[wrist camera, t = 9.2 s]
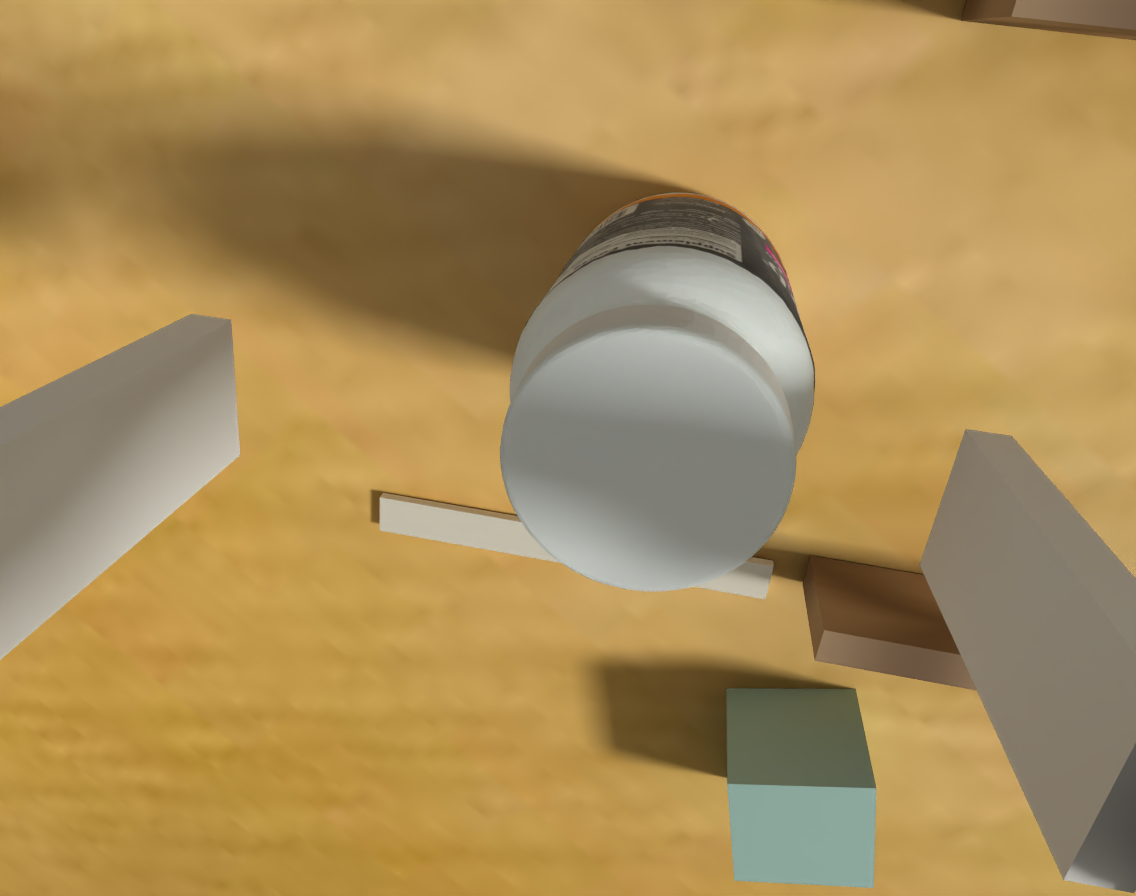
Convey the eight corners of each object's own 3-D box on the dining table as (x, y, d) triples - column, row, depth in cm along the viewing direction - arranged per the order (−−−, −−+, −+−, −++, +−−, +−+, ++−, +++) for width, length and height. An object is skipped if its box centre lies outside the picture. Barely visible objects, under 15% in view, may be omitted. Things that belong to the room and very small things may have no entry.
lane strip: (383, 525, 26) (379, 530, 26) (383, 492, 26) (379, 497, 26) (764, 593, 25) (765, 599, 25) (773, 560, 25) (773, 566, 24)
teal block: (732, 777, 29) (734, 880, 25) (726, 686, 27) (727, 783, 24) (853, 780, 28) (873, 887, 25) (855, 687, 26) (876, 788, 23)
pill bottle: (790, 392, 22) (838, 619, 14) (581, 406, 24) (500, 625, 15) (783, 172, 20) (835, 275, 11) (551, 200, 21) (433, 314, 12)
